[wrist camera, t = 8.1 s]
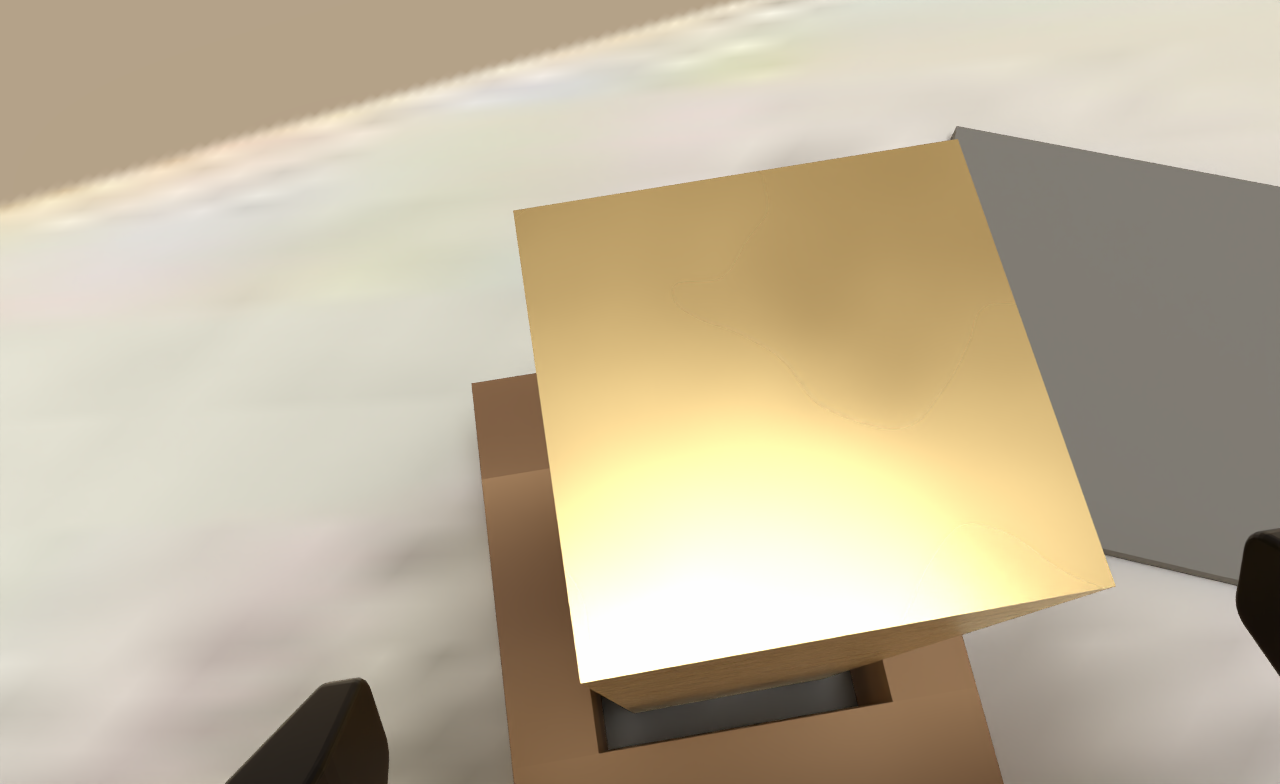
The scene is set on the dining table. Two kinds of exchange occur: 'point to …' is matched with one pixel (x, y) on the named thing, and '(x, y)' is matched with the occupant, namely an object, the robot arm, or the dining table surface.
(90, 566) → the dining table surface
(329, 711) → the robot arm
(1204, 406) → the mat
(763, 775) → the socket block
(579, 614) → the pin
